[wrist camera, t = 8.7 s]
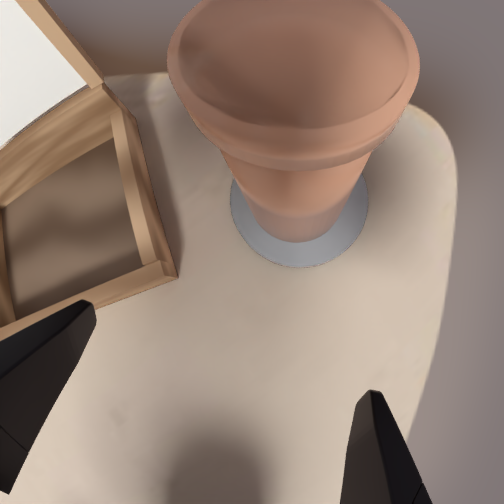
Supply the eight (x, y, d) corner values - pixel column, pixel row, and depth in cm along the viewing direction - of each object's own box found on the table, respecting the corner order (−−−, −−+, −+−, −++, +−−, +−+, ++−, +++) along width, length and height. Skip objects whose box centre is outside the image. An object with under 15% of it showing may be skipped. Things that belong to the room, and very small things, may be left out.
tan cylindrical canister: (341, 254, 20) (430, 166, 6) (236, 239, 21) (134, 134, 7) (350, 157, 20) (403, -10, 7) (253, 145, 21) (201, -25, 8)
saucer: (385, 239, 20) (389, 236, 19) (259, 287, 21) (257, 287, 20) (332, 126, 22) (333, 119, 21) (216, 167, 23) (213, 162, 22)
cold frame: (178, 277, 22) (138, 270, 16) (16, 339, 23) (-31, 343, 17) (135, 118, 24) (101, 79, 18) (-3, 205, 26) (-43, 190, 20)
